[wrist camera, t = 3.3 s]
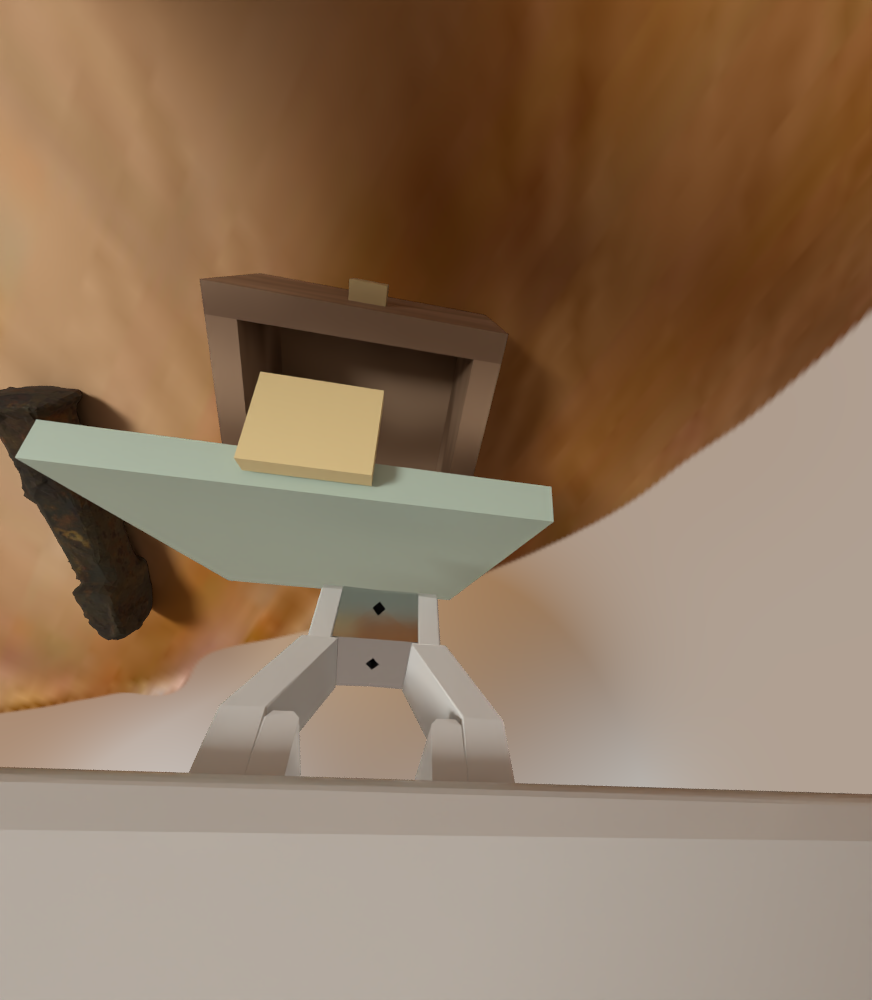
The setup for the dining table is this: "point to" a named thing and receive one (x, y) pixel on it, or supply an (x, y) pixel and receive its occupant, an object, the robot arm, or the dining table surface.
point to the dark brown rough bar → (79, 520)
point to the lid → (298, 495)
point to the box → (359, 360)
